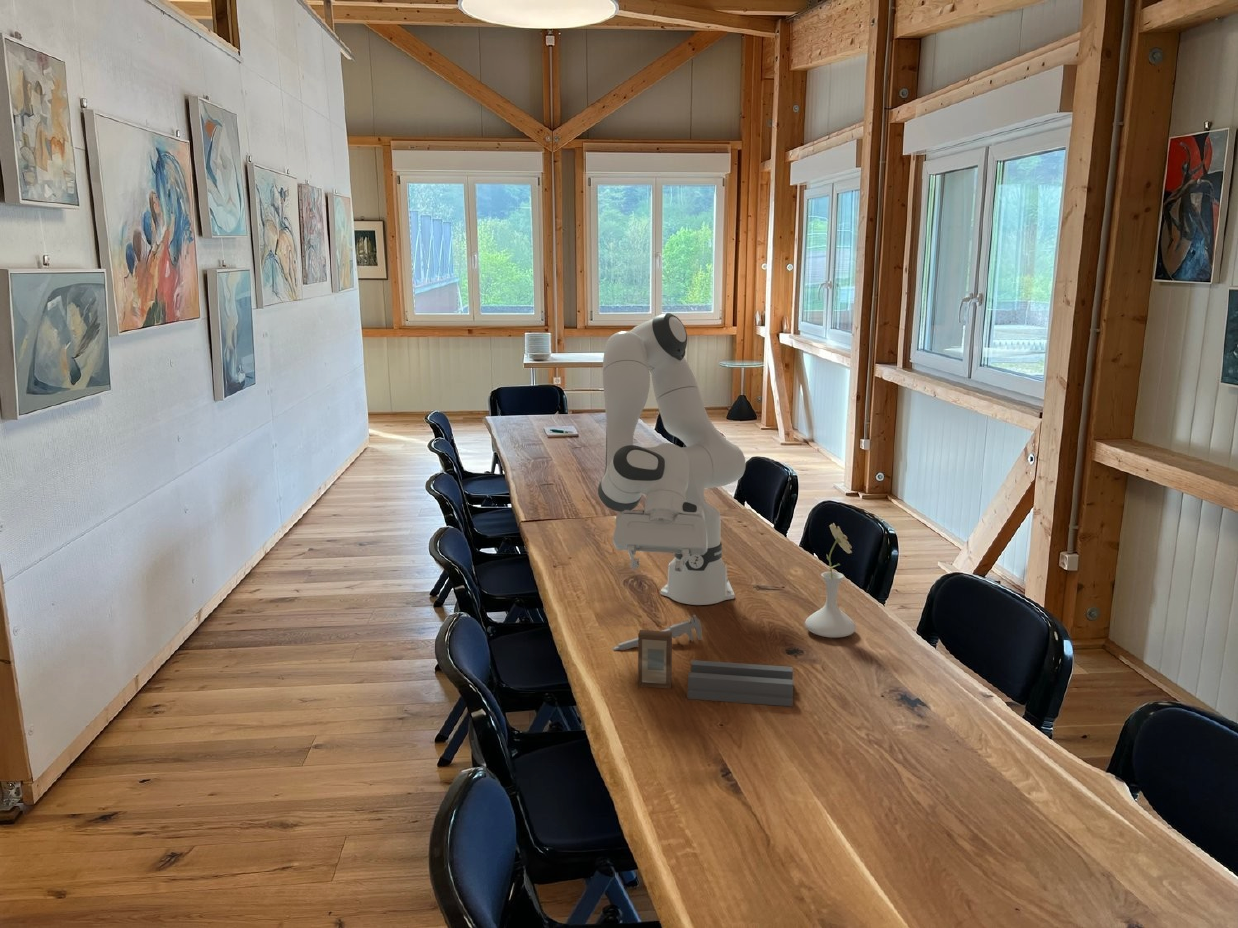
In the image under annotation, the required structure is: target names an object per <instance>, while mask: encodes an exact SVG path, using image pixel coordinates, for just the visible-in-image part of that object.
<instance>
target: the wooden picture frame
mask: <svg viewBox="0 0 1238 928" xmlns="http://www.w3.org/2000/svg"><path fill="white" fill-rule="evenodd" d="M637 636H638V637H637V638H638V646H637V647H638V651H637V652H638V653H637V656H638V657H637V662H638V663H637V664H638V665H637V666H638V667H637V669H638V670H637V673H638V674H637V683H638V684H637V686H638V687H642V688H643V687H644V688H645V687H646V688H657V689H658V688H659V689H671V687H672V673H673V672H672V671H673V668H672V667H673V665H672V663H673V658H672V657H673V652H672V651H673V637H672V632H668V631H662V630H652V629H651V630H650V629H649V630H648V629H639V632H638V635H637Z"/></svg>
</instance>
